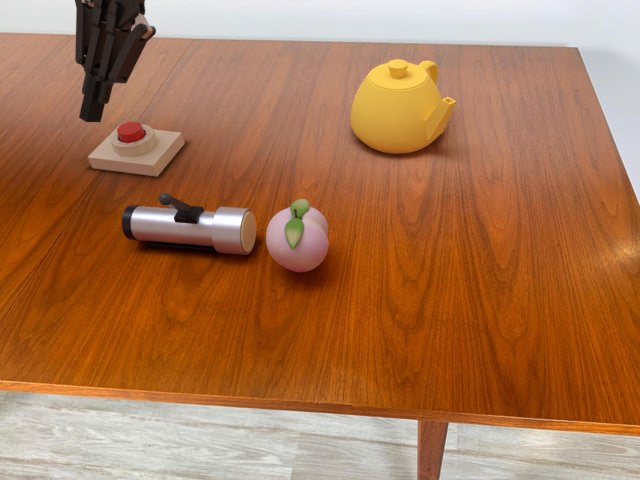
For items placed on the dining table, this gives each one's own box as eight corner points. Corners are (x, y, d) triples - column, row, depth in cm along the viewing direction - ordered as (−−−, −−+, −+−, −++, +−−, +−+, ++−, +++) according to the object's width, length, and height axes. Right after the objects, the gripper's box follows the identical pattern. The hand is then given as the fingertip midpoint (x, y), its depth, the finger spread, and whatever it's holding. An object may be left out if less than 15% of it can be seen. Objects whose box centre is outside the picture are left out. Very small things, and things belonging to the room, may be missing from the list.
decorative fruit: (273, 245, 83) (261, 189, 76) (330, 240, 84) (323, 184, 76) (271, 293, 77) (257, 236, 69) (333, 287, 77) (326, 231, 70)
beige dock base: (92, 168, 97) (82, 147, 94) (123, 136, 104) (115, 116, 101) (157, 176, 95) (149, 156, 92) (184, 143, 102) (178, 123, 99)
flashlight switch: (180, 214, 79) (155, 203, 72) (181, 202, 79) (157, 190, 72) (191, 215, 79) (167, 204, 72) (192, 203, 79) (169, 191, 72)
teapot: (332, 133, 103) (325, 64, 94) (404, 94, 112) (404, 27, 103) (416, 179, 93) (418, 107, 84) (487, 132, 103) (496, 62, 93)
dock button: (115, 142, 96) (111, 133, 95) (128, 129, 99) (124, 120, 97) (137, 145, 95) (134, 135, 94) (149, 132, 98) (146, 123, 97)
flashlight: (129, 254, 82) (113, 219, 78) (148, 225, 87) (133, 190, 82) (247, 264, 81) (237, 229, 76) (260, 234, 85) (252, 199, 80)
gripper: (183, -18, 81) (141, 139, 90) (111, -55, 83) (76, 102, 92) (146, -32, 74) (104, 139, 83) (68, -71, 77) (35, 100, 85)
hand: (89, 119), depth 88 cm, fingers closed
